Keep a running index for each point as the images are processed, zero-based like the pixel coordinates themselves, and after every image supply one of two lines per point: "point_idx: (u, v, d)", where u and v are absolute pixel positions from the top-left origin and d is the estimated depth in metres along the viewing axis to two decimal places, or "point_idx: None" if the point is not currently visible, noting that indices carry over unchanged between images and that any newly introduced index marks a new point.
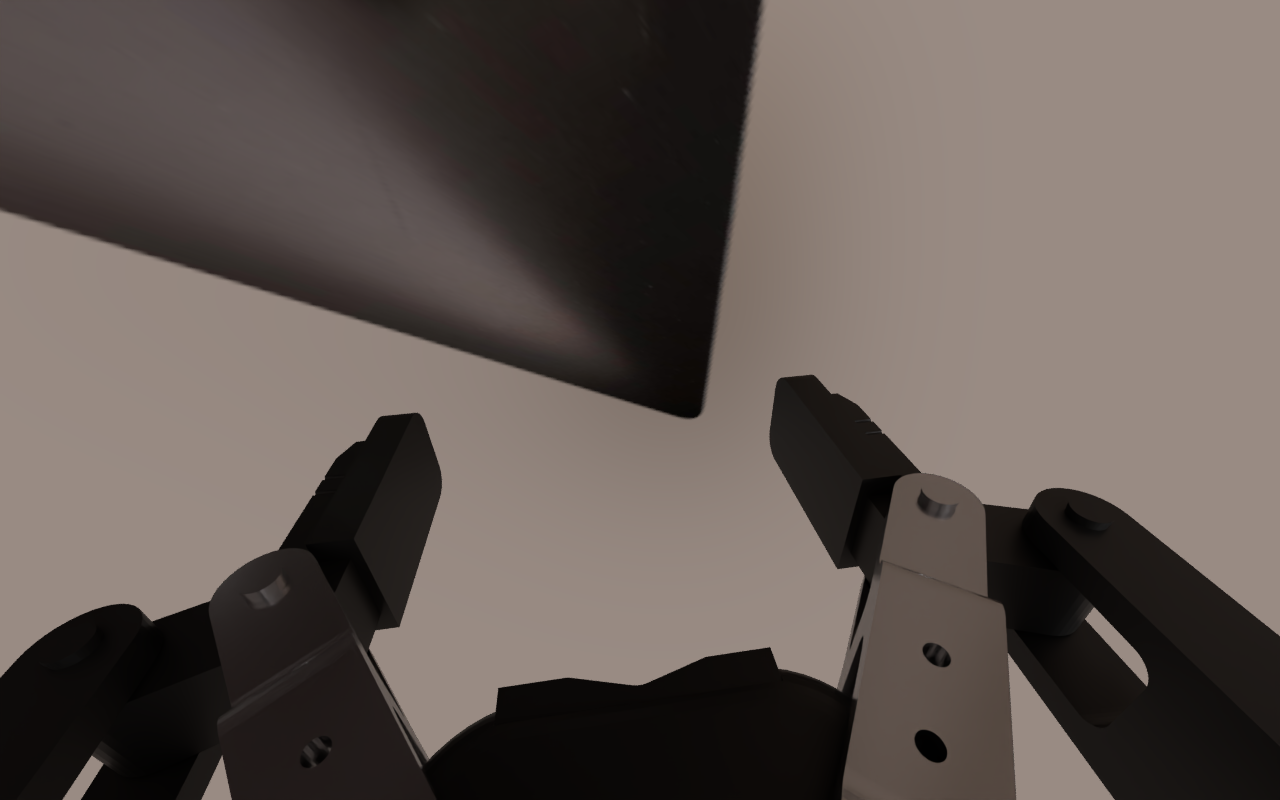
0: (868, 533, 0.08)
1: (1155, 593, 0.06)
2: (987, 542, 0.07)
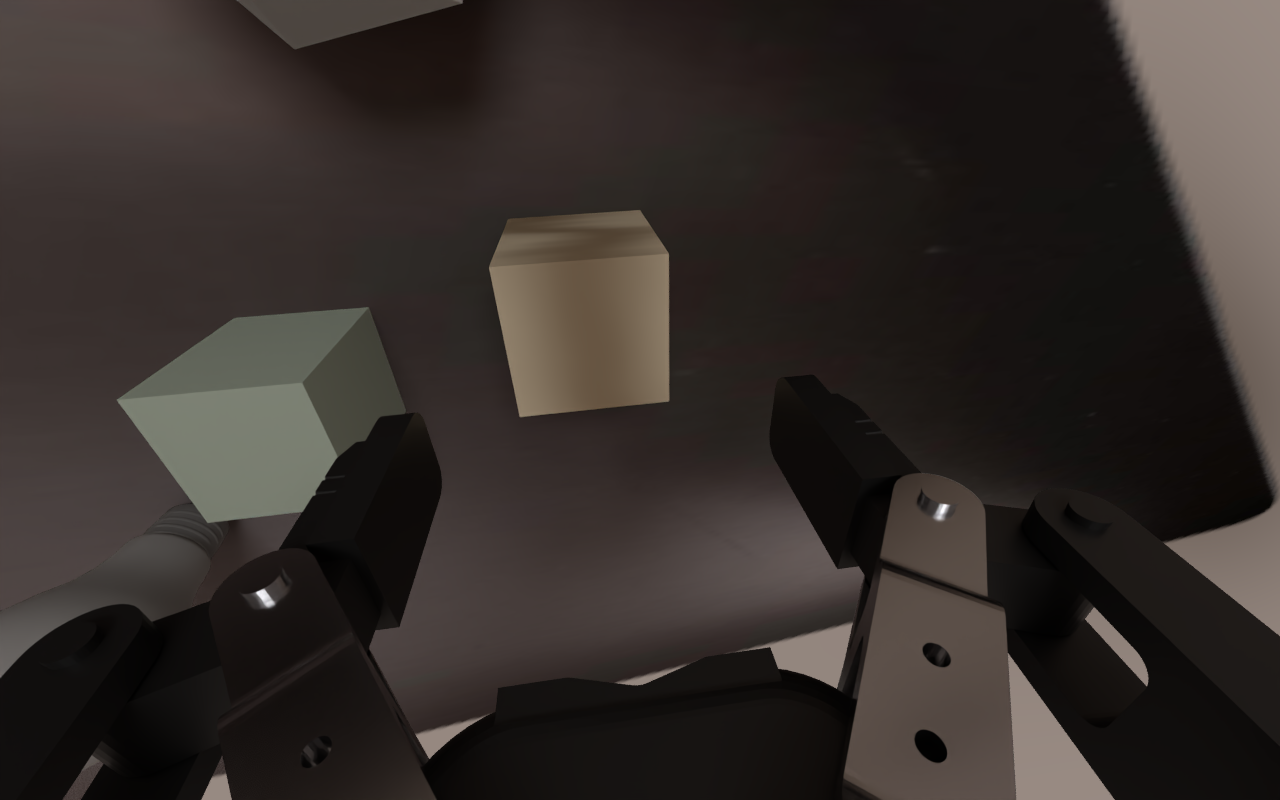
0: (868, 533, 0.08)
1: (1155, 593, 0.06)
2: (987, 542, 0.07)
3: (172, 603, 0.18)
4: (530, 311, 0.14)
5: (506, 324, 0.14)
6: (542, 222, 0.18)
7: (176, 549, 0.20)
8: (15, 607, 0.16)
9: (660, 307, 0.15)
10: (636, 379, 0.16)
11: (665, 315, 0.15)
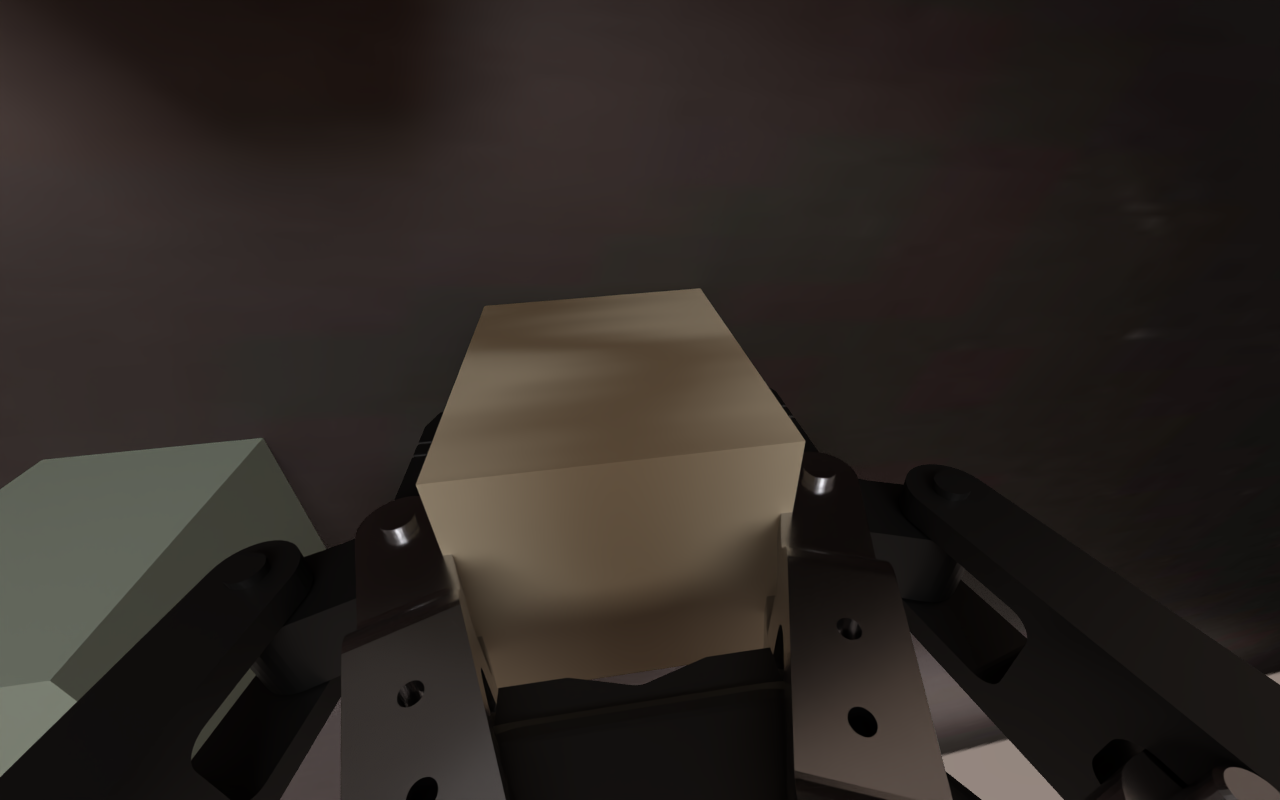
0: None
1: (1017, 553, 0.06)
2: None
3: None
4: (510, 549, 0.07)
5: (461, 572, 0.07)
6: (539, 317, 0.10)
7: None
8: None
9: (773, 527, 0.07)
10: (712, 630, 0.08)
11: None
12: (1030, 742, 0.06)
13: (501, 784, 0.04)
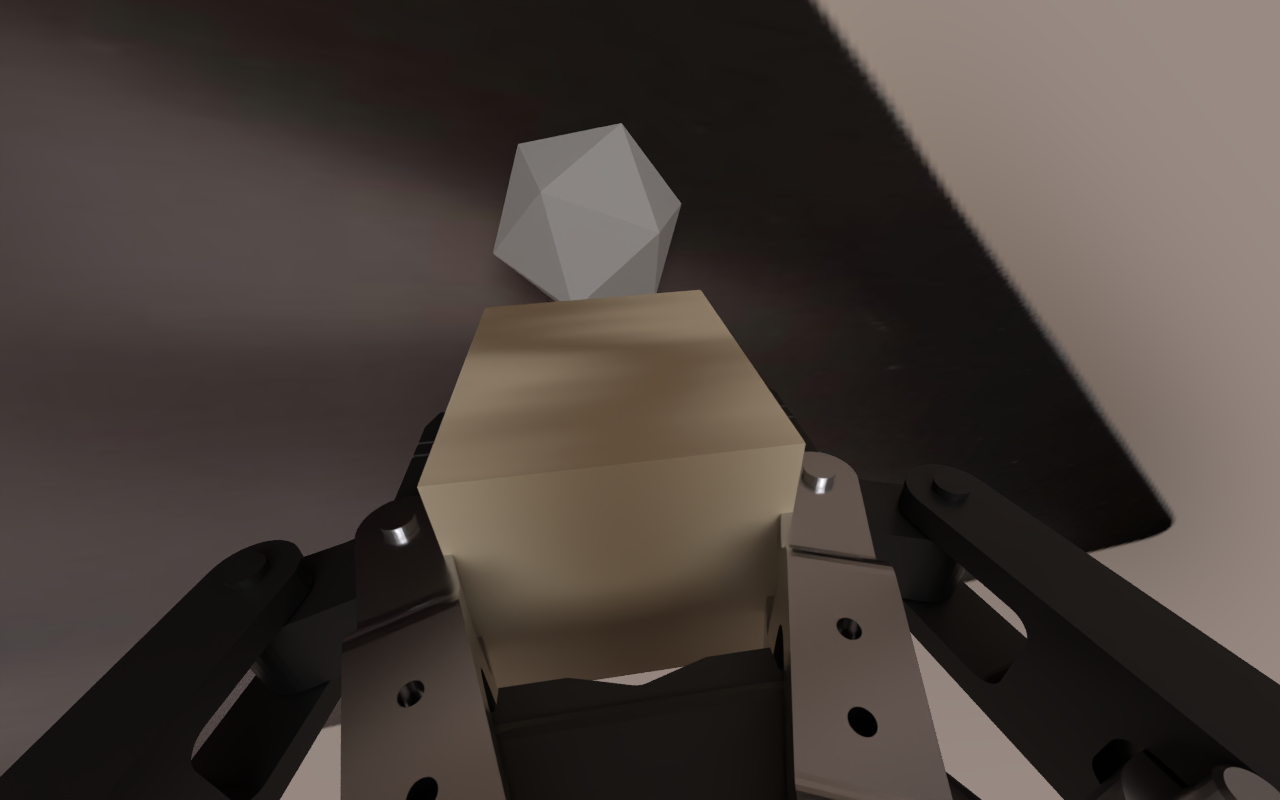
0: None
1: (1017, 553, 0.06)
2: None
3: None
4: (511, 551, 0.07)
5: (462, 573, 0.07)
6: (540, 318, 0.10)
7: None
8: None
9: (773, 529, 0.07)
10: (712, 631, 0.08)
11: None
12: (1030, 742, 0.06)
13: (501, 784, 0.04)
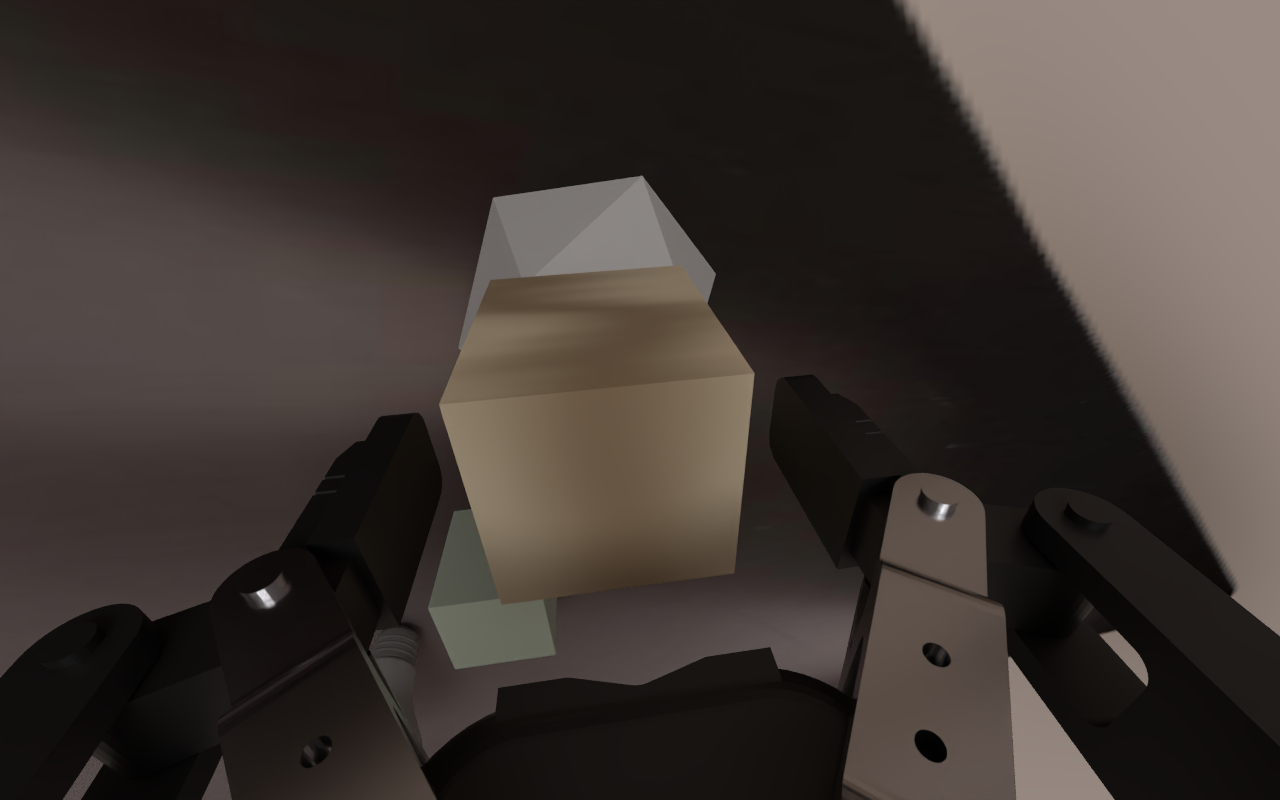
0: (868, 533, 0.08)
1: (1155, 593, 0.06)
2: (987, 542, 0.07)
3: (411, 715, 0.26)
4: (515, 465, 0.08)
5: (474, 486, 0.08)
6: (538, 287, 0.12)
7: (401, 669, 0.28)
8: None
9: (732, 451, 0.09)
10: (686, 549, 0.10)
11: (739, 463, 0.09)
12: (1133, 797, 0.06)
13: None
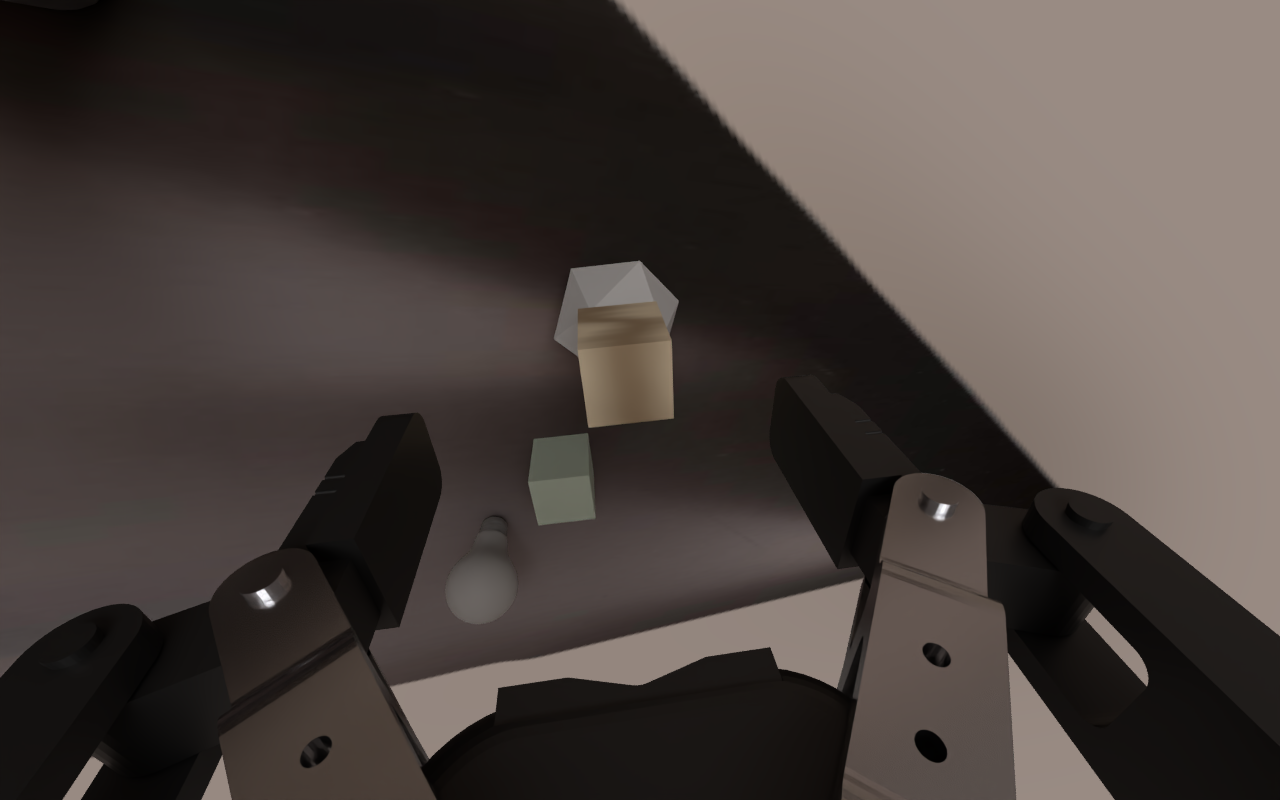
0: (868, 533, 0.08)
1: (1155, 593, 0.06)
2: (987, 542, 0.07)
3: None
4: (597, 370, 0.26)
5: (584, 378, 0.26)
6: (598, 312, 0.30)
7: (500, 537, 0.46)
8: (471, 557, 0.42)
9: (667, 367, 0.27)
10: (654, 406, 0.28)
11: (670, 371, 0.27)
12: (1133, 798, 0.06)
13: None
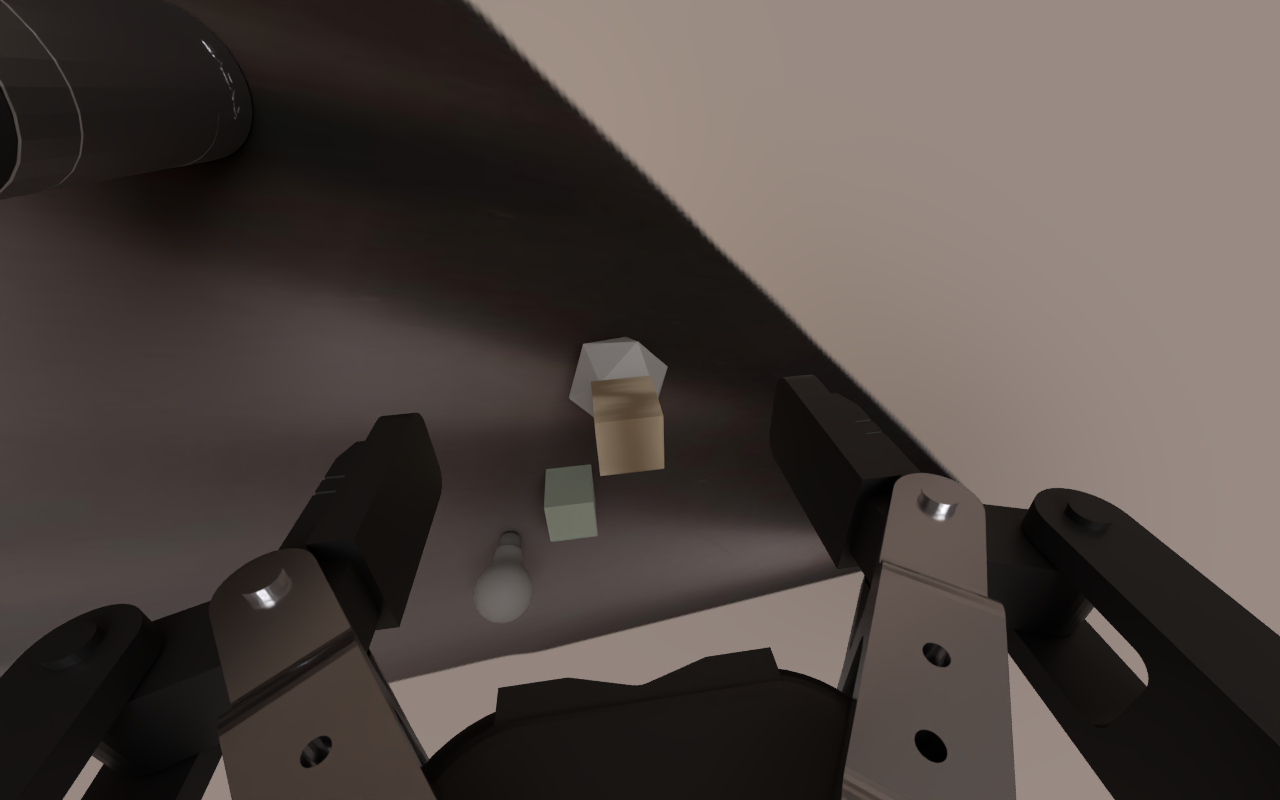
0: (868, 533, 0.08)
1: (1155, 593, 0.06)
2: (987, 542, 0.07)
3: (525, 569, 0.53)
4: (608, 437, 0.35)
5: (598, 441, 0.36)
6: (607, 385, 0.39)
7: (517, 550, 0.55)
8: (495, 568, 0.51)
9: (660, 433, 0.36)
10: (650, 460, 0.37)
11: (662, 436, 0.36)
12: (1133, 797, 0.06)
13: None
